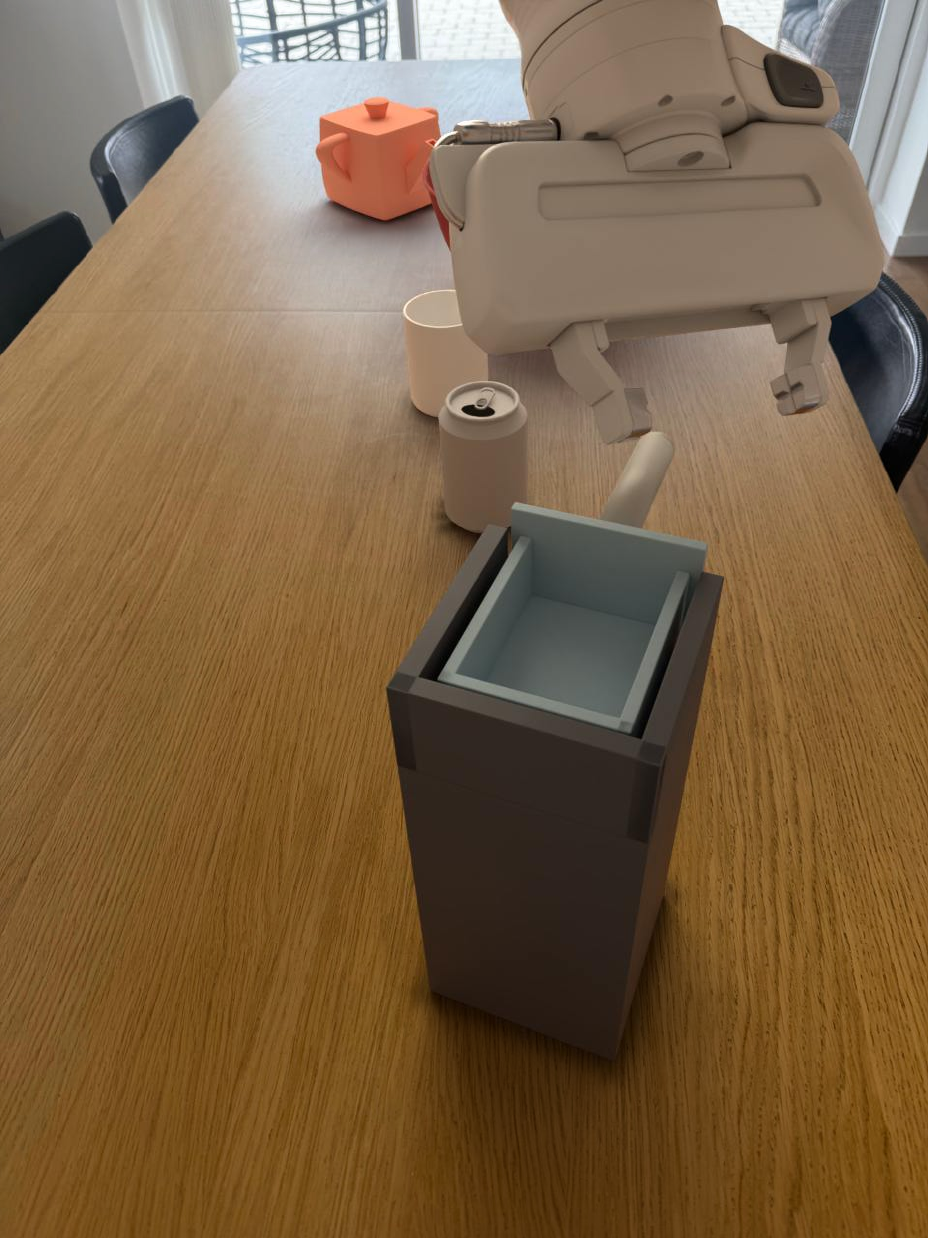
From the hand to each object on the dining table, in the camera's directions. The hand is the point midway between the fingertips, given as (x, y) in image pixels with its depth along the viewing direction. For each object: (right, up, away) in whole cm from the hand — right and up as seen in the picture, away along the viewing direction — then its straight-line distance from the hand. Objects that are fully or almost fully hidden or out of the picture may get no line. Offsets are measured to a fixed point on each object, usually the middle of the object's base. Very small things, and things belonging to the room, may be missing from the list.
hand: (721, 423), depth 41 cm
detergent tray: (-4, -8, +6) cm, 11 cm away
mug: (-12, +16, +63) cm, 66 cm away
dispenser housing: (-6, -28, +16) cm, 33 cm away
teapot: (-21, +53, +102) cm, 117 cm away
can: (-9, +1, +47) cm, 48 cm away
